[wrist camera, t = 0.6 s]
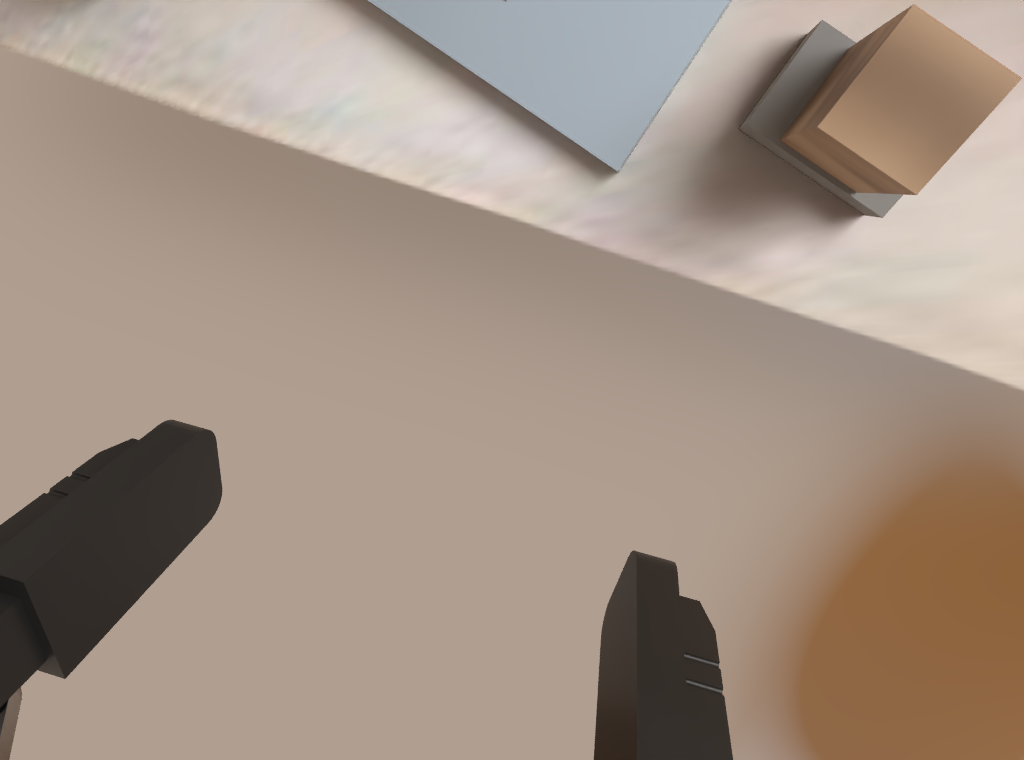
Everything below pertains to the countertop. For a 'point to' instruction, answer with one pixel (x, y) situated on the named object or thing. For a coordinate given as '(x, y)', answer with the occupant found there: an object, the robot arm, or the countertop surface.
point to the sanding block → (878, 107)
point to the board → (572, 57)
